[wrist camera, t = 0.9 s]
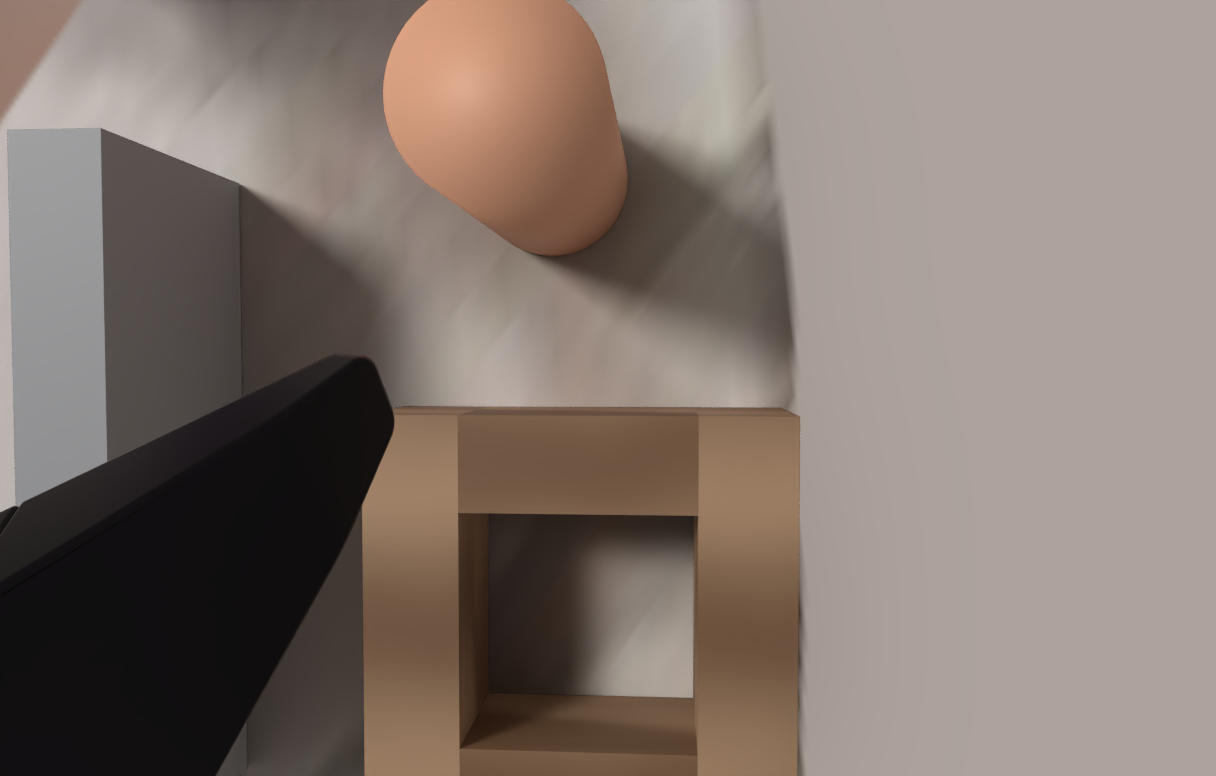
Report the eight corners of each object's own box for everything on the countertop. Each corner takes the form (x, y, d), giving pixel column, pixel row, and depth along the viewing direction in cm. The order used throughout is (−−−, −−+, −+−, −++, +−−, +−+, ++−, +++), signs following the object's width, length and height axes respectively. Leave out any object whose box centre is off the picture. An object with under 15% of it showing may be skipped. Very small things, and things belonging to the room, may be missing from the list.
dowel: (628, 255, 24) (608, 204, 16) (477, 256, 24) (383, 207, 16) (628, 101, 24) (608, -27, 16) (477, 104, 24) (381, -20, 16)
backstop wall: (247, 767, 25) (115, 896, 19) (177, 765, 25) (24, 893, 19) (239, 183, 25) (100, 128, 19) (167, 184, 25) (7, 129, 19)
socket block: (778, 784, 24) (796, 855, 21) (407, 772, 25) (365, 840, 21) (780, 407, 24) (800, 416, 20) (404, 406, 24) (361, 414, 21)
